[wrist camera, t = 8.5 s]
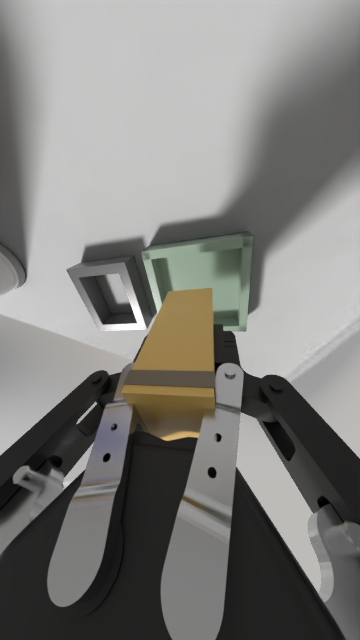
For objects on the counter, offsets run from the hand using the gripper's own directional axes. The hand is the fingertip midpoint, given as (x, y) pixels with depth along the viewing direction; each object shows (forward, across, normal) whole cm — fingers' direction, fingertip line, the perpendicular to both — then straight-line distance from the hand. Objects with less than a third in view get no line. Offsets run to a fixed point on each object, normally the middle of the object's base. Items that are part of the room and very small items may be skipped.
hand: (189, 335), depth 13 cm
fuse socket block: (+9, +10, 0) cm, 14 cm away
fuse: (+3, 0, 0) cm, 3 cm away
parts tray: (+9, 0, 0) cm, 9 cm away
